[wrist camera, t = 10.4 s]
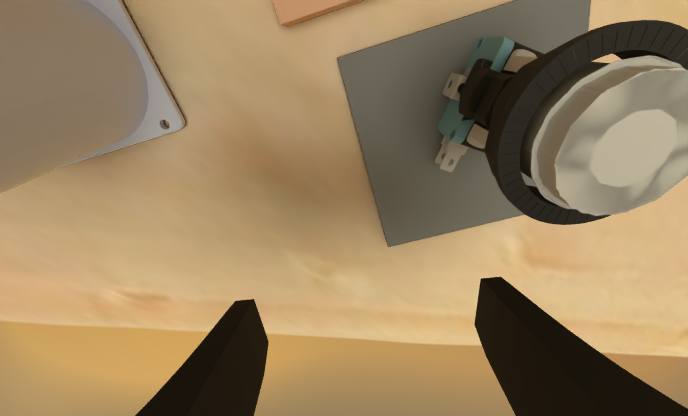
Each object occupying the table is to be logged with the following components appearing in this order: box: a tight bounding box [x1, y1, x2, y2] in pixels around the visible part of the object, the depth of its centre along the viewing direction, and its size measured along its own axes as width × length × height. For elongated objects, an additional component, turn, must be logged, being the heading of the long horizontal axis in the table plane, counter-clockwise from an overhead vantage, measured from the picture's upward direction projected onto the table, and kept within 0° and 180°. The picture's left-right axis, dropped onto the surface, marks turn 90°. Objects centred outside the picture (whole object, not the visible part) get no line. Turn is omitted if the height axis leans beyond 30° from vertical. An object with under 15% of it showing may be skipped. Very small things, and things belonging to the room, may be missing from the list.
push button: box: [435, 20, 688, 225], centre depth 12 cm, size 7×5×10 cm
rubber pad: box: [338, 0, 591, 247], centre depth 17 cm, size 12×12×1 cm
